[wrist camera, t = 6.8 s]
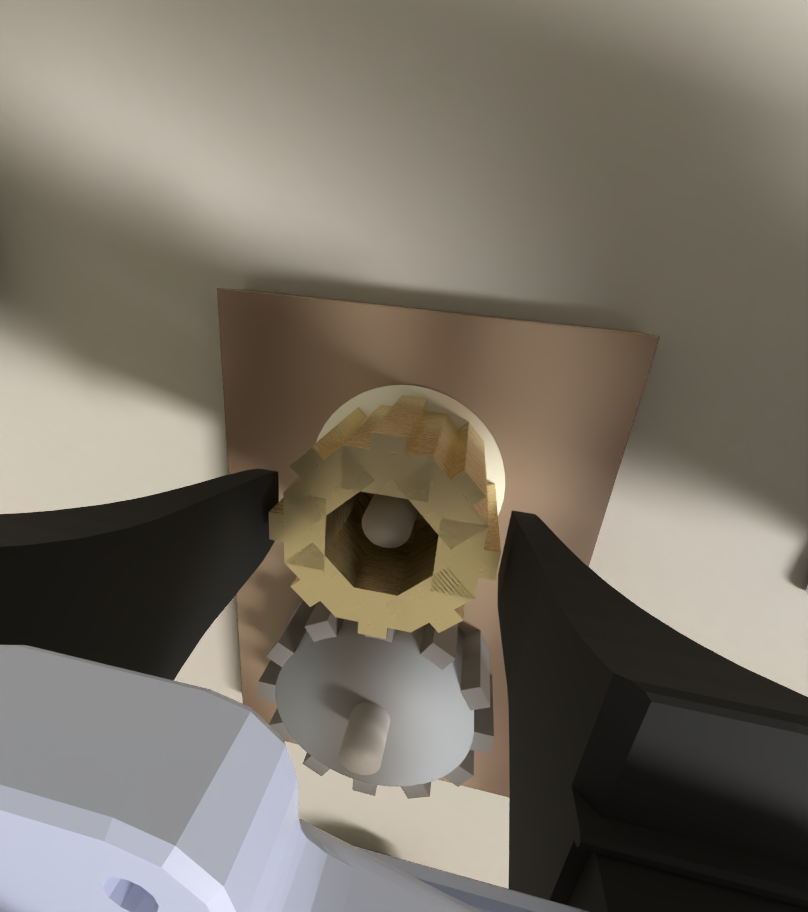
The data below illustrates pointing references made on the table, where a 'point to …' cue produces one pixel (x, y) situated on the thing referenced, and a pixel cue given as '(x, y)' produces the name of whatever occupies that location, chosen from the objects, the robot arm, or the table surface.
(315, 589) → the wooden gear
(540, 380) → the gear board
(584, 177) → the table surface
